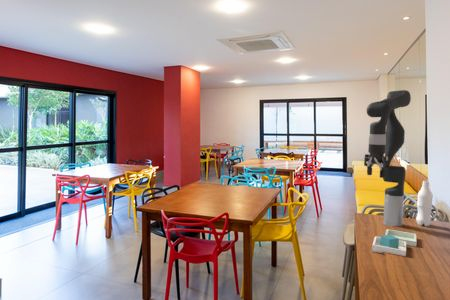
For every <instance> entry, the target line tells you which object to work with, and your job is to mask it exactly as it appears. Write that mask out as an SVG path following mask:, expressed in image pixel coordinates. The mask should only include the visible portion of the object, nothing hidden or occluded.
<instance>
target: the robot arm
mask: <svg viewBox="0 0 450 300" xmlns="http://www.w3.org/2000/svg"><path fill="white" fill-rule="evenodd" d="M411 99H412V98H411V93H410V91H409V90H406V89H401V90H393V91H389V92H388V93H387V96H386V98H384V99H383V100H379V101H374V102H371V103H370V104H368V105H367V107H366V114H367V116H368V117H371V118H380V119H379V120H378V121H374V122H371V123H370V125H369V137H368V154H365V155H364V161H363V165H364V166H365V167H366V173H367V174H366V175H367V176H372V175H373V166H374V165H377V166H378V167H379V178H380V179H381V178H382V179H383V182H385V183H394V184H395V183H396V185H394V186H392V187H386V188H385V189H384V200H383V202H384V205H383V218H382V219H383V225H384V226H392V227H402V226H403V225H404V224H403V223H404V198H405V197H404V195H405V194H404V193H405V180H406V168H405V167H404V166H400V165H399V166H398V165H391V163H392V161H393V159H394V157H395V155H396V154H397V153H398V152H399V150H400V149H401V148H402V147H403V145H404V143H405V134H406V133H405V132H406V131H405V128H404V126H403V125H402V123H401V122H400V120H399V119H398V118H397V115H396V111H395V110H396V109H397V110H398V109H399V108H404V107H408V106H409V105H410V103H411V101H412V100H411Z"/></svg>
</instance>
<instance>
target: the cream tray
mask: <svg viewBox="0 0 450 300" xmlns="http://www.w3.org/2000/svg"><path fill="white" fill-rule="evenodd" d="M380 241H381V236H374V238H373V242H372V248H371V252H374V253H376V254H377V253H378V254H382V255H383V254H384V255H386V253H387V254H391V255H395V256H396V255H397V256H402V257H406V256H407V245H406V242H405V241H399V248H398V249H396V248H390V247H385V246H380Z"/></svg>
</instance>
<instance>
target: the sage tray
mask: <svg viewBox="0 0 450 300" xmlns="http://www.w3.org/2000/svg"><path fill="white" fill-rule="evenodd" d="M384 235H392V236H394V237H397V238H399V241H405V242H406V246H411V247H417V234H416V233H412V232H407V231H401V230H395V229H388V228H386V229H385V234H384Z"/></svg>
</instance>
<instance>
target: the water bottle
mask: <svg viewBox="0 0 450 300" xmlns="http://www.w3.org/2000/svg"><path fill="white" fill-rule="evenodd" d="M421 185H422V186H421V188H420V190H419V191H418V192H417V202H416V203H417V204H416V207H417V214H416V217H415V221H416V223H417V225H419V226H423V225H424V227H430V226H431V223H432V217H431V213H432V209H433V198H434V195H433V193H432V191H431V189H430V181H429V180H422V184H421Z"/></svg>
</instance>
